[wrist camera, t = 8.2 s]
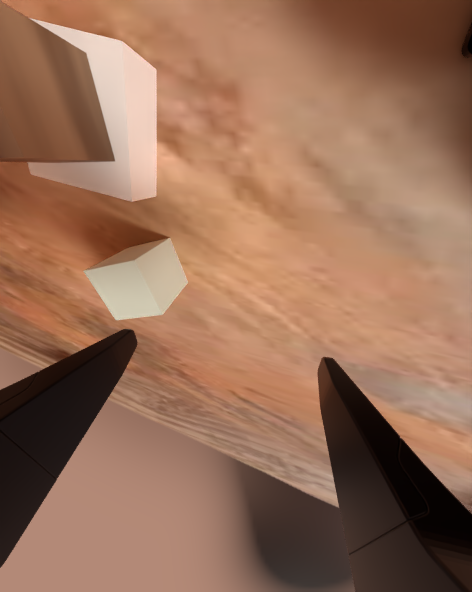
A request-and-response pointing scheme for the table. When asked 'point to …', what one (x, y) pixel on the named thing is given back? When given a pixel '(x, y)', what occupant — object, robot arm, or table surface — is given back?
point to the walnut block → (47, 97)
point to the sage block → (139, 280)
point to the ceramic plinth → (114, 120)
